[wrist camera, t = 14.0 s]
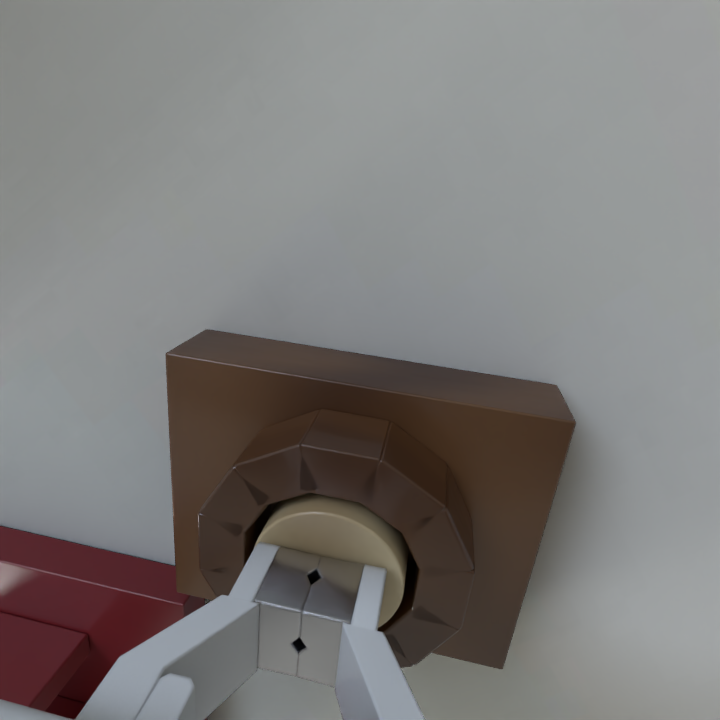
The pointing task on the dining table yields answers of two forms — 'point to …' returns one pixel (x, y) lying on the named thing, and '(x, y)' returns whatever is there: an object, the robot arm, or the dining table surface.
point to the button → (342, 538)
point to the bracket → (75, 616)
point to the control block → (369, 474)
